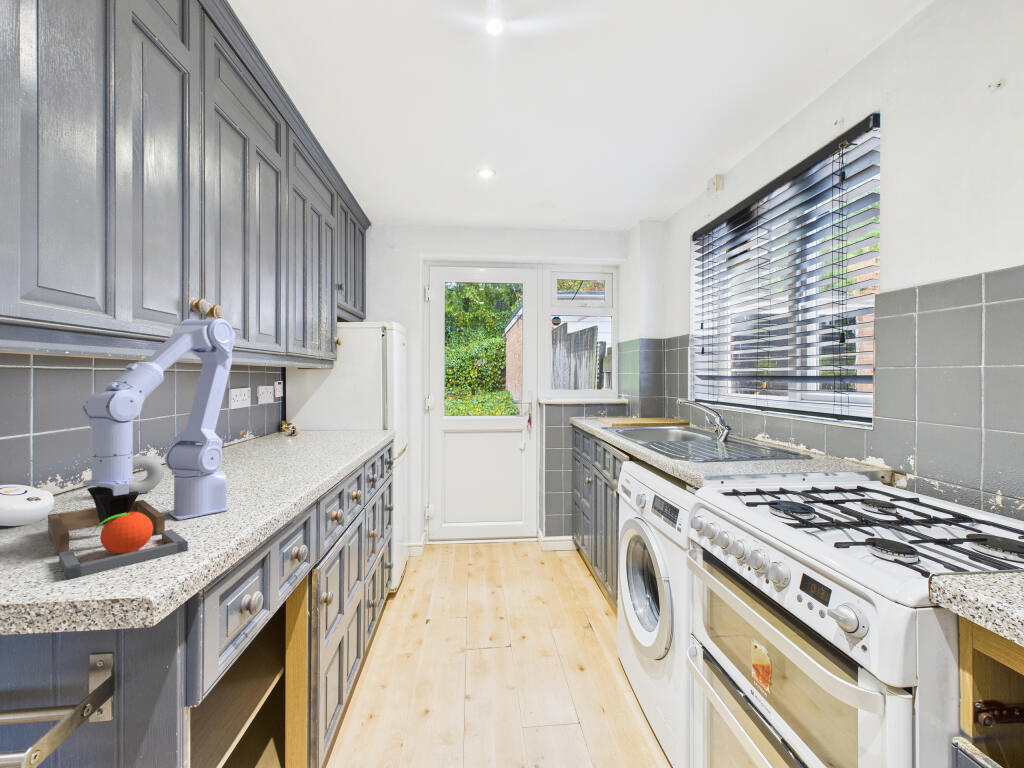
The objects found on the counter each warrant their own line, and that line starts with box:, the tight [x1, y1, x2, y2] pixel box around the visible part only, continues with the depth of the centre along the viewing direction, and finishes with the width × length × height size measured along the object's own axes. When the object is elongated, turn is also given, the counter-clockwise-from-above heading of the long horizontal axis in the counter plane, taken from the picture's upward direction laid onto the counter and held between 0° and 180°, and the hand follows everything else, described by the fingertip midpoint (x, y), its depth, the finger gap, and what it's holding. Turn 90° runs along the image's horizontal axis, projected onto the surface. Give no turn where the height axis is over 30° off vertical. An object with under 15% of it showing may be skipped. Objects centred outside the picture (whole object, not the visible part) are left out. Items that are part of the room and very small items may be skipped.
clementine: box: [92, 511, 154, 555], centre depth 76 cm, size 8×7×7 cm
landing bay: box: [58, 529, 189, 580], centre depth 75 cm, size 15×10×2 cm, turn 141°
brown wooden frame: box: [47, 499, 166, 555], centre depth 86 cm, size 14×17×4 cm
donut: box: [129, 455, 164, 495], centre depth 115 cm, size 10×4×10 cm, turn 138°
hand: (112, 527), depth 82 cm, fingers open, 7 cm apart
